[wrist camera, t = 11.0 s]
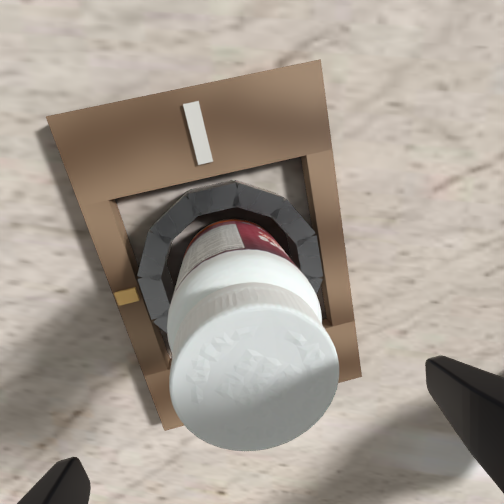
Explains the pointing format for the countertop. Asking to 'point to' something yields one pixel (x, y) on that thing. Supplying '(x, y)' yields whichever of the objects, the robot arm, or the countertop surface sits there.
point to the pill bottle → (247, 341)
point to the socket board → (208, 193)
